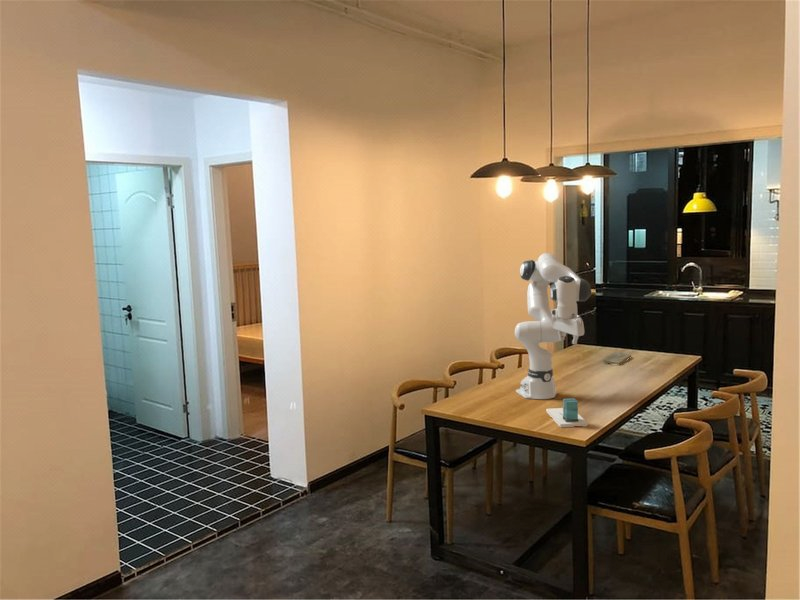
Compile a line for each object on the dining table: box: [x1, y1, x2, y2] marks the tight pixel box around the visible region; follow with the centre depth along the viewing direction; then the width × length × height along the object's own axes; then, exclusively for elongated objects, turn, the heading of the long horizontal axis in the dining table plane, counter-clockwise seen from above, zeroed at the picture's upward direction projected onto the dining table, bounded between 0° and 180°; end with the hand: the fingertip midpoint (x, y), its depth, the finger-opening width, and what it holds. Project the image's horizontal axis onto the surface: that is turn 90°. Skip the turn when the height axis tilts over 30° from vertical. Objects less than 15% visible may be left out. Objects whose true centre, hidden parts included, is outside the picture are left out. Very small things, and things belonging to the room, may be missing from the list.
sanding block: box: [562, 398, 579, 422], centre depth 280 cm, size 5×5×9 cm
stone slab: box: [602, 351, 632, 366], centre depth 405 cm, size 12×4×30 cm
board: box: [546, 407, 589, 428], centre depth 288 cm, size 24×12×2 cm, turn 1°
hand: (568, 341), depth 292 cm, fingers open, 8 cm apart
